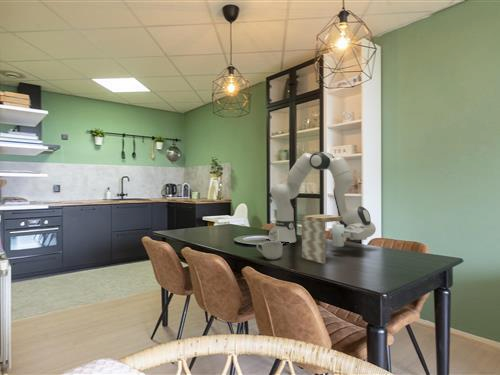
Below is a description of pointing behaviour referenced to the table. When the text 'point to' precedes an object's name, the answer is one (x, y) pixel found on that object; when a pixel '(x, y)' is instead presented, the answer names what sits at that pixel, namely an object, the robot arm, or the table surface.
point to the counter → (315, 236)
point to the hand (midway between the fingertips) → (337, 234)
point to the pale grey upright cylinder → (338, 234)
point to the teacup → (271, 249)
